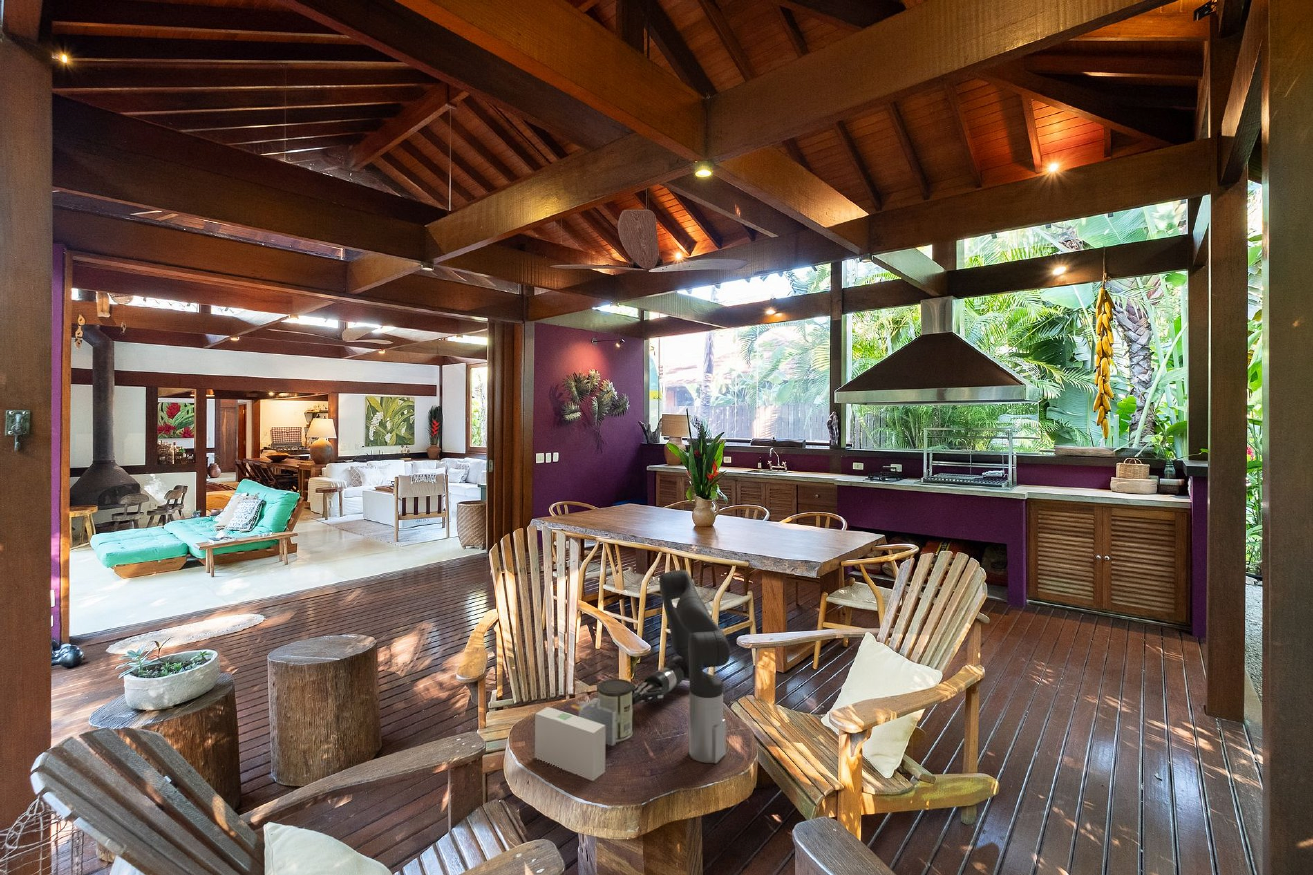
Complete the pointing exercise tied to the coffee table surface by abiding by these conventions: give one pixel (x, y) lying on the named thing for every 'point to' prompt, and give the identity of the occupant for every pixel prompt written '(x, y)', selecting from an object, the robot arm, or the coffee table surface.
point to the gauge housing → (570, 742)
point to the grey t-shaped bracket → (599, 717)
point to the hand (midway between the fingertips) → (630, 701)
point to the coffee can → (618, 704)
